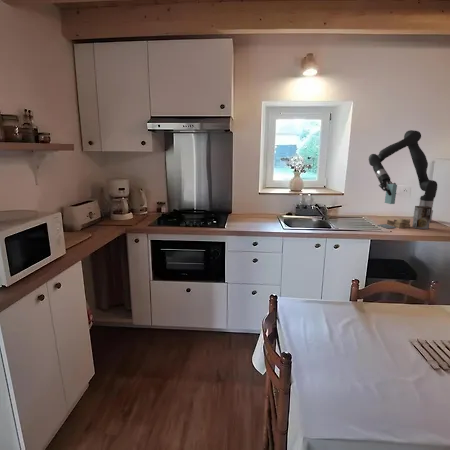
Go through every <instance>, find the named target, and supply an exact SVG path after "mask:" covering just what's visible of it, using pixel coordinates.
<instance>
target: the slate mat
mask: <svg viewBox="0 0 450 450" xmlns="http://www.w3.org/2000/svg"><path fill="white" fill-rule="evenodd" d="M377 226H378V227H380V226H381V228H384V229H388V230H390V229H397V227H394V226H392V225H389V224H387V223H386V224H377Z"/></svg>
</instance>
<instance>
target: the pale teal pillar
mask: <svg viewBox="0 0 450 450" xmlns="http://www.w3.org/2000/svg"><path fill="white" fill-rule="evenodd" d="M387 185H388V186H389V187H388V188H389V190H390V191H391V193H392V194H391V195H388V193H387V192H386V191H385V198H384V203H385V204H388V205H395V203H396V195H397V189H398V184H396V185H395V184H387Z"/></svg>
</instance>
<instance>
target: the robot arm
mask: <svg viewBox="0 0 450 450" xmlns="http://www.w3.org/2000/svg"><path fill="white" fill-rule="evenodd" d="M421 139H422V134H421V132H420V131H418V130H416V129H415V130H414V129H413V130H411V129H409V130H407V131H406V132H405V133H404V136H403V139H401V140H399V141H397V142H395V143H393V144H390V145H388V146H386V147H385V148H382V149H381V150H379V152H378V154H376V153H371V154H370V155H369V156H368V163H369V165H370V166H372V170H373V172H374V174H375V175H376V178H377V180H378V182H379V184H378V187H380V188H381V190H382V191H383V192H385V193H386V192H387V193H388V195H391V194H392V193H391V191H390V190H389V188H388V187H389V186H388V185H387V184H395V185H397V183H396V182H393V181H391V177H390V175H389V174H388V172H387V170H386V169H385V167H384V166H383V164H382V163H383V161H384V160H385V159H387V158H388V157H391V156H392V155H393V154H395V153H397V152H399V151H400V150H403V149H404V148H406V147H407V148H408V151H409V154H410V157H411V159H412V163H413V164H412V165H413V167H414V169H415V170H414V171H415V173H416V176H417V180H418V185H419V188H420V189H421V191H423V192H424V194H423V195H421V196H420V198H419V205H418V206H429V207H431V208H432V209H431V216H430V222H432V220H433V212H434V210H433V208H434V206H433V205H434V201H435V198H436V195H437V191H438V182H437V181H436V180H432V179H430V178H429V177H428V174H427V173H428V166H429V162H428V159H427V156H426V154H425V152H424V151H423V149H422V148H421V147H420V144H419V141H420V140H421Z"/></svg>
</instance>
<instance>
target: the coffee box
mask: <svg viewBox="0 0 450 450" xmlns="http://www.w3.org/2000/svg"><path fill="white" fill-rule="evenodd" d="M431 209H432V210H433V207H432V208H431V207H429V206H419V205H415V206H414V211H413V212H414V213H413V217H412V218H413V219H412V220H413V221H412V228H414V229H416V230H417V229H419V230H421V229H422V230H423V229H424V230H429V228H430V216H431Z"/></svg>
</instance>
